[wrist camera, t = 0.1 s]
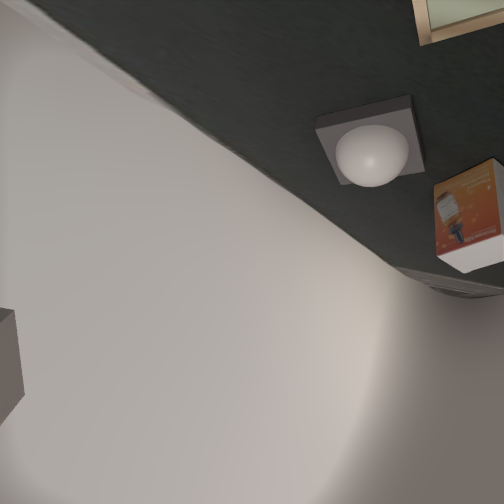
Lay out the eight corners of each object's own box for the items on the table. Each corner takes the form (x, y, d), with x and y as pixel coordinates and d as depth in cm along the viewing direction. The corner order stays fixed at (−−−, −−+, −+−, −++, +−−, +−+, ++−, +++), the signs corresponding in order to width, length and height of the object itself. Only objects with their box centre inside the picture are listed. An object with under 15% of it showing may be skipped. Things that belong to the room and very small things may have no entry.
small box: (493, 155, 51) (504, 233, 46) (519, 178, 53) (532, 254, 48) (431, 185, 57) (435, 257, 52) (457, 204, 59) (463, 275, 54)
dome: (318, 103, 51) (311, 157, 47) (410, 80, 46) (411, 137, 42) (342, 160, 58) (338, 211, 54) (423, 145, 54) (426, 199, 50)
